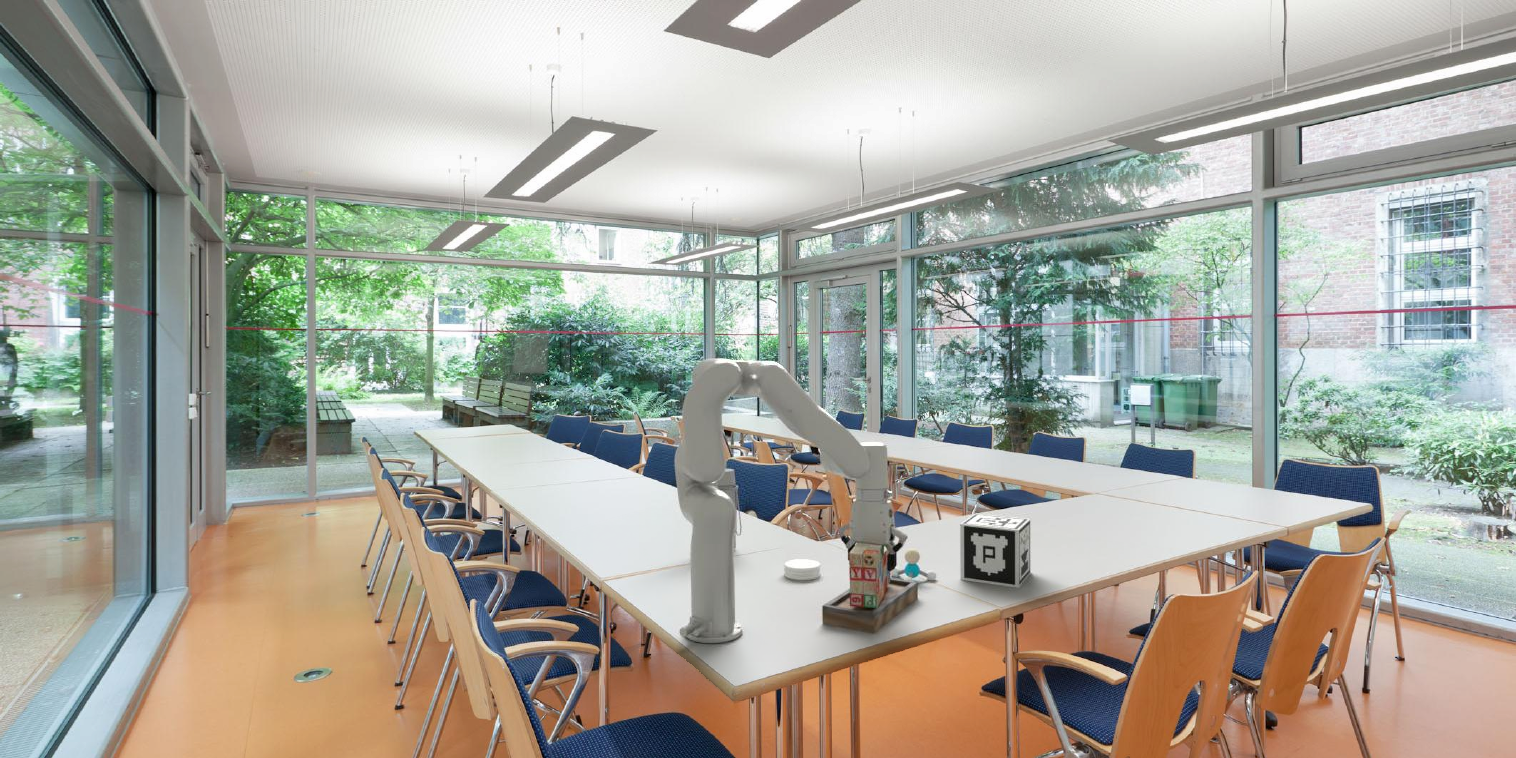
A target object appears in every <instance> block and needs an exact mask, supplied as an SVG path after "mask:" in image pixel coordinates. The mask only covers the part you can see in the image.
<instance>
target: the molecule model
mask: <svg viewBox="0 0 1516 758" xmlns="http://www.w3.org/2000/svg"><path fill="white" fill-rule="evenodd" d="M920 559H921V555H920V552H919V551H918V550H916V549H915V548H909V549H907V550H906V551H905V553H904V560H905V562H906V563H907V564H906V565H905V567H904V568H903V569H900V568H899V567H897V566H896V567H895V569H893V570H892V571H890V576H891V577H894V578H895V577H896V578H898V577H899V576H901V575H903V574H905V575H906V576H907V577H905V578H904V579H903V580H907V581H913V582H915V580H914V579H915V578H917V577H918V576H919V575H921V576H922V577H925V578H926V580H927V581H935V580H936V579H937V573H936V572H935V571H934V570H928V571H927V572H925V571H922V570H921V569H920V566H919V564H917V563H919V561H920Z"/></svg>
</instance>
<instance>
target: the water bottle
mask: <svg viewBox="0 0 1516 758" xmlns="http://www.w3.org/2000/svg"><path fill="white" fill-rule="evenodd" d="M717 485H718V489H719V490H721V491H723V492H724V493H726V494H727V495H728V496H729V497H730V498H731V499H732V501H733V503H734V505H735V508H736V513H737V514H738V519H739V527H740V528H739V529H740V530H739V534H738V531H737V525H738V522H736V530H735V539H734V551H735V550H736V545H737V542H736V540H737V536H741V535H742V534H741V533H742V520H741V513H740V512H741V511H740V503H739V502H740V501H739V495H738V489H739V485H737V484H736V476H735V469H732V468H726V470H725V473H724V475H723V476H722V478H721V479H720V480H718V481H717Z"/></svg>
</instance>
